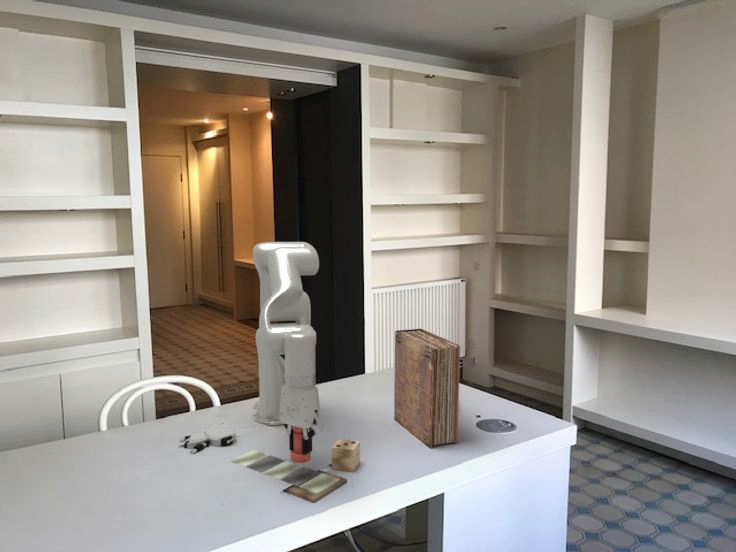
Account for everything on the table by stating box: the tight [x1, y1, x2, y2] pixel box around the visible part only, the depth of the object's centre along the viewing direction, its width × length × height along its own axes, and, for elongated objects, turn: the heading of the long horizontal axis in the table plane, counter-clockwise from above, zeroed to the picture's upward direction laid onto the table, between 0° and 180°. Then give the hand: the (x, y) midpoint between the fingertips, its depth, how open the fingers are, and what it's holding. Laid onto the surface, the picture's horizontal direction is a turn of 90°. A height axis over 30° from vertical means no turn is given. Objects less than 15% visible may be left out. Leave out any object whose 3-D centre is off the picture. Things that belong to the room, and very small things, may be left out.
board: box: [229, 449, 348, 504], centre depth 154 cm, size 32×13×1 cm, turn 55°
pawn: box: [290, 426, 312, 464], centre depth 149 cm, size 5×5×11 cm
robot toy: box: [178, 422, 241, 454], centre depth 172 cm, size 12×4×15 cm
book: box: [393, 328, 461, 449], centre depth 183 cm, size 25×9×30 cm, turn 22°
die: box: [331, 438, 361, 473], centre depth 160 cm, size 6×6×6 cm
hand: (300, 450), depth 150 cm, fingers closed on pawn, 3 cm apart
